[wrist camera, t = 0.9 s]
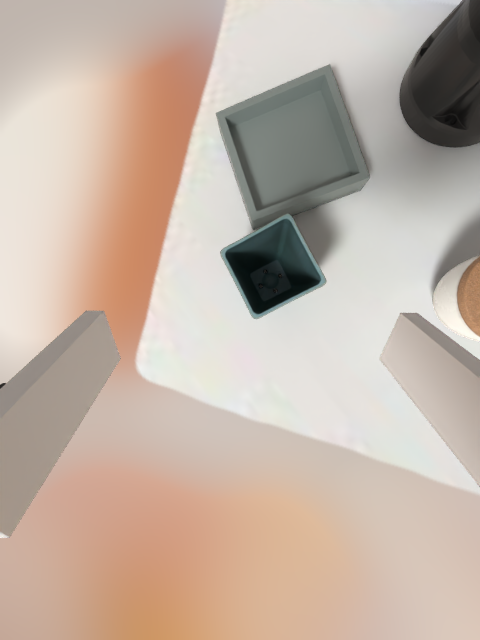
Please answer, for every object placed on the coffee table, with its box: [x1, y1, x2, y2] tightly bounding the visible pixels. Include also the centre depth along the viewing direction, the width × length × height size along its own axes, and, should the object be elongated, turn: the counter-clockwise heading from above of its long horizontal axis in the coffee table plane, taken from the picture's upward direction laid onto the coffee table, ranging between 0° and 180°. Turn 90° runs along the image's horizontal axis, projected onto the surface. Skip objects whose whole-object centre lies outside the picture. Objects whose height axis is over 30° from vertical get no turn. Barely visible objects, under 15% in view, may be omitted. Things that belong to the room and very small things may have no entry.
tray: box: [216, 64, 370, 230], centre depth 32 cm, size 16×16×3 cm
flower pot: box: [220, 214, 326, 319], centre depth 29 cm, size 9×9×9 cm
